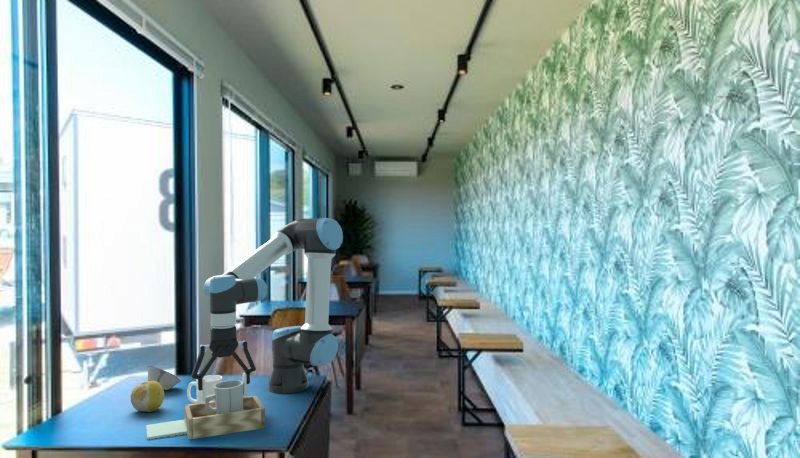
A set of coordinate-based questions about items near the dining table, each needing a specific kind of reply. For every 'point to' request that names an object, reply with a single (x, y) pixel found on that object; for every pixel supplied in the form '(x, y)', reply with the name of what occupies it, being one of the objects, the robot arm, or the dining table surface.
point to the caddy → (223, 419)
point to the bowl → (162, 377)
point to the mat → (166, 429)
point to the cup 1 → (209, 390)
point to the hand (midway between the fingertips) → (224, 397)
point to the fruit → (147, 396)
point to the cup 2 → (226, 397)
